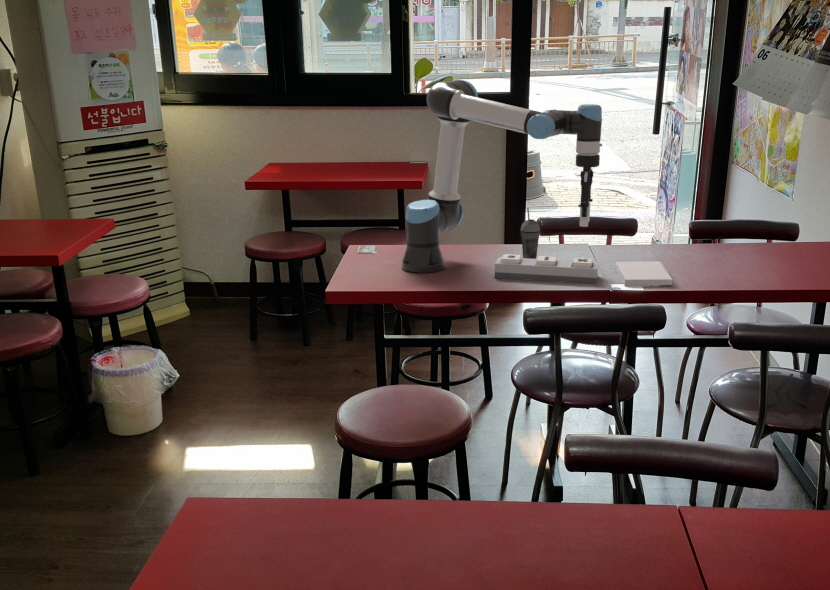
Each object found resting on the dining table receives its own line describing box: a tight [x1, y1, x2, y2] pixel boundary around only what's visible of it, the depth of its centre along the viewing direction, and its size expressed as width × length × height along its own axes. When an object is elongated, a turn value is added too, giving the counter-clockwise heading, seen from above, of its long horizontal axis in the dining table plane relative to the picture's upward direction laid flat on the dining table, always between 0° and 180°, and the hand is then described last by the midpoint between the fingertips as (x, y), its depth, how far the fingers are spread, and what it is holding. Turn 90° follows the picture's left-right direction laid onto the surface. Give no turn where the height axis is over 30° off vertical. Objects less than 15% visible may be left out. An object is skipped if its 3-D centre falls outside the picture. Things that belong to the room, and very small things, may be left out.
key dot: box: [501, 253, 522, 264], centre depth 277 cm, size 6×6×3 cm
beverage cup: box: [519, 207, 542, 259], centre depth 292 cm, size 7×7×20 cm
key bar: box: [536, 255, 557, 266], centre depth 274 cm, size 6×6×3 cm
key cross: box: [572, 257, 593, 268], centre depth 271 cm, size 6×6×3 cm
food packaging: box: [615, 261, 673, 288], centre depth 273 cm, size 15×3×20 cm
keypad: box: [493, 256, 599, 284], centre depth 275 cm, size 34×9×5 cm, turn 75°
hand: (584, 223), depth 267 cm, fingers open, 7 cm apart
